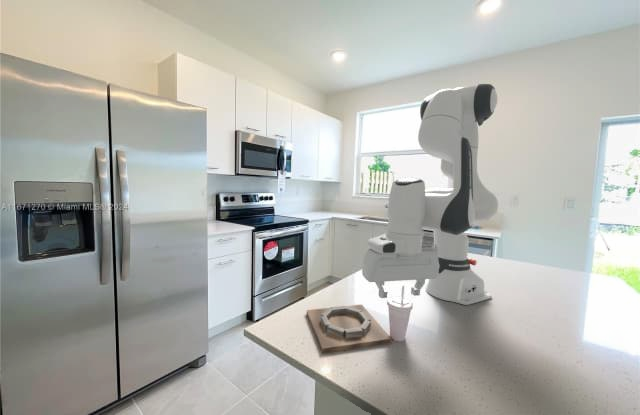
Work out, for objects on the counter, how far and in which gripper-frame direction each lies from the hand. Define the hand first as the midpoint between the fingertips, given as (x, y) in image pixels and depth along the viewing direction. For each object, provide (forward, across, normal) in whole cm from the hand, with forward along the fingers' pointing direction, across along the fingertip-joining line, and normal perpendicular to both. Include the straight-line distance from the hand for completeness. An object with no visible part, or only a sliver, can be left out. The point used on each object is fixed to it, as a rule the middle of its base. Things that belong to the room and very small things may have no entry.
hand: (399, 295), depth 65 cm
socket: (+12, +11, -7) cm, 18 cm away
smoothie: (+12, -1, 0) cm, 12 cm away
